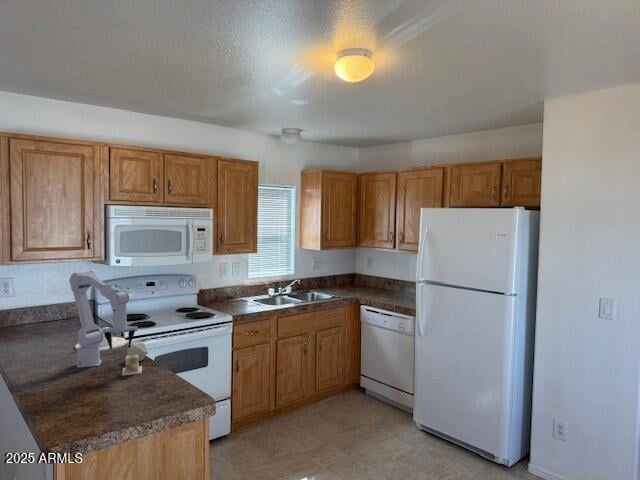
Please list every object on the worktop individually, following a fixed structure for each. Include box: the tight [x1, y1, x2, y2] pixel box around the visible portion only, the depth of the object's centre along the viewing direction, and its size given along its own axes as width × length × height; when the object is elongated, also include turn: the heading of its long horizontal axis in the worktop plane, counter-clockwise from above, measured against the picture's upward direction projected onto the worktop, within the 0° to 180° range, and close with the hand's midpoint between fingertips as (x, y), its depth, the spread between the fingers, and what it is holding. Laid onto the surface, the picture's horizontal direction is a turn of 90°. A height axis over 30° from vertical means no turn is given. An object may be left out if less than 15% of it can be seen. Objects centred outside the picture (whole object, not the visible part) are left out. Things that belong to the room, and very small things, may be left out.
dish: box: [74, 326, 127, 352], centre depth 243 cm, size 25×25×11 cm
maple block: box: [125, 354, 140, 372], centre depth 201 cm, size 5×5×6 cm
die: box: [126, 342, 149, 362], centre depth 217 cm, size 8×9×10 cm
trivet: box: [121, 365, 143, 376], centre depth 201 cm, size 8×8×1 cm
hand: (120, 348), depth 202 cm, fingers open, 7 cm apart
